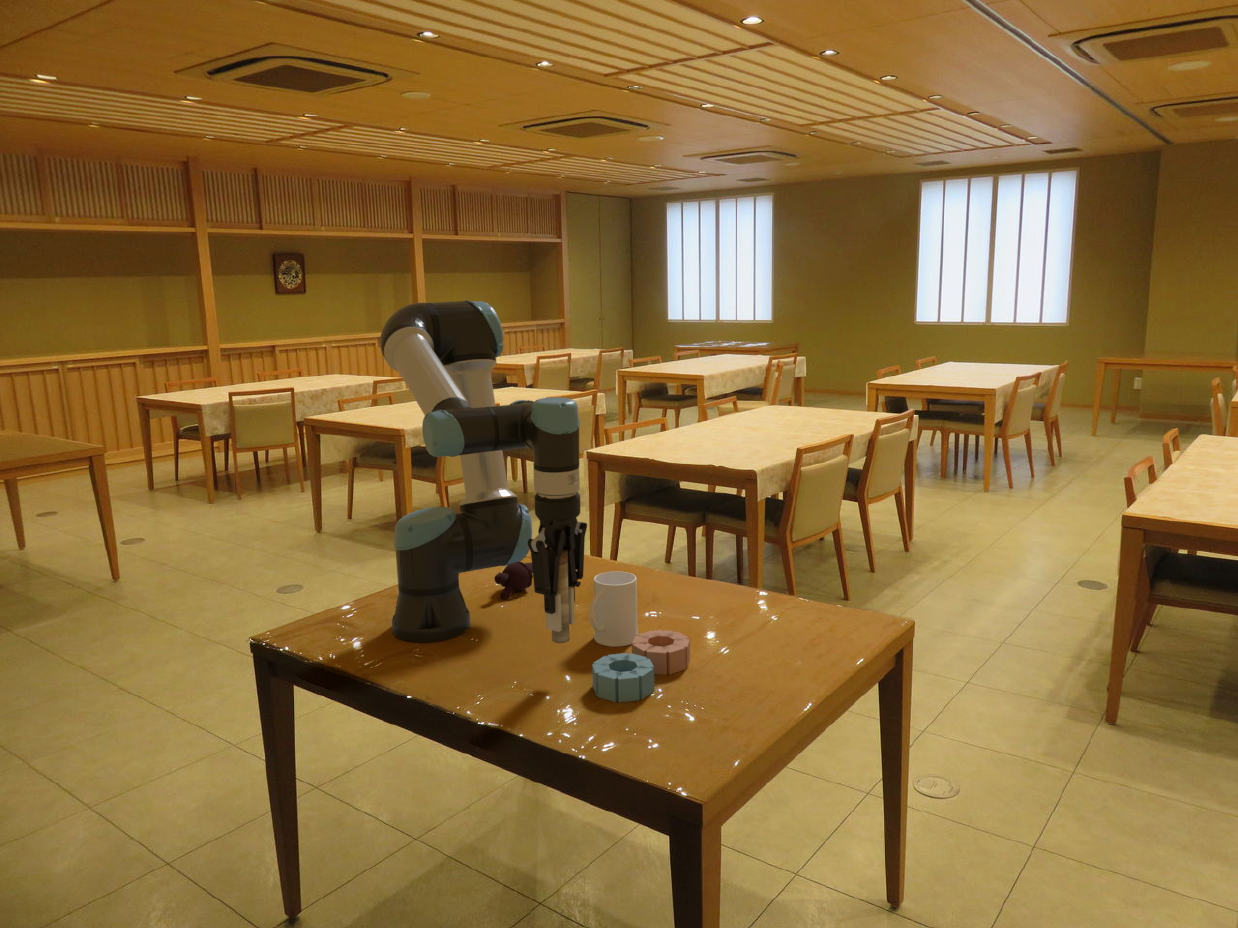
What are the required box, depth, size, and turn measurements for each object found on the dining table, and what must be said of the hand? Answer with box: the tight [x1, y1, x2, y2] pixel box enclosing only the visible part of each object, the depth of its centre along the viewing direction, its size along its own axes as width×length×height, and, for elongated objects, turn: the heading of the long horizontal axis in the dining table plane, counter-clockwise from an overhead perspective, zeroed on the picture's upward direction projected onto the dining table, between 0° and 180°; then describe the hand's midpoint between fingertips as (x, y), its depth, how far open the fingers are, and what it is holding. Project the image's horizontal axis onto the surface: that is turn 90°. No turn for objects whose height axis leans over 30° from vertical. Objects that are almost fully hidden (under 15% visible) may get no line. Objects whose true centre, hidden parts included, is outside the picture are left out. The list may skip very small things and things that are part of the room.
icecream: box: [494, 561, 533, 600], centre depth 198 cm, size 7×7×15 cm
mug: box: [589, 570, 639, 648], centre depth 169 cm, size 12×8×12 cm
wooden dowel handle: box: [551, 549, 571, 644], centre depth 152 cm, size 3×3×16 cm
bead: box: [591, 652, 655, 703], centre depth 150 cm, size 10×10×4 cm
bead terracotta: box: [631, 629, 691, 676], centre depth 160 cm, size 10×10×4 cm
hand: (560, 625), depth 154 cm, fingers closed on wooden dowel handle, 3 cm apart
